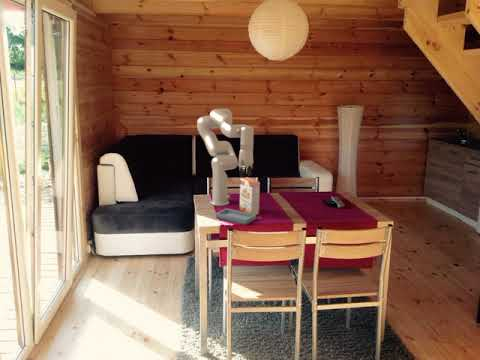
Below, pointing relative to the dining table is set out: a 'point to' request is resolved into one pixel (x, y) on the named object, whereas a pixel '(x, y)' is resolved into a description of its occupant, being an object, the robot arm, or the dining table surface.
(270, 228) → the dining table surface
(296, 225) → the dining table surface
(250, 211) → the cracker box
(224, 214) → the tray
